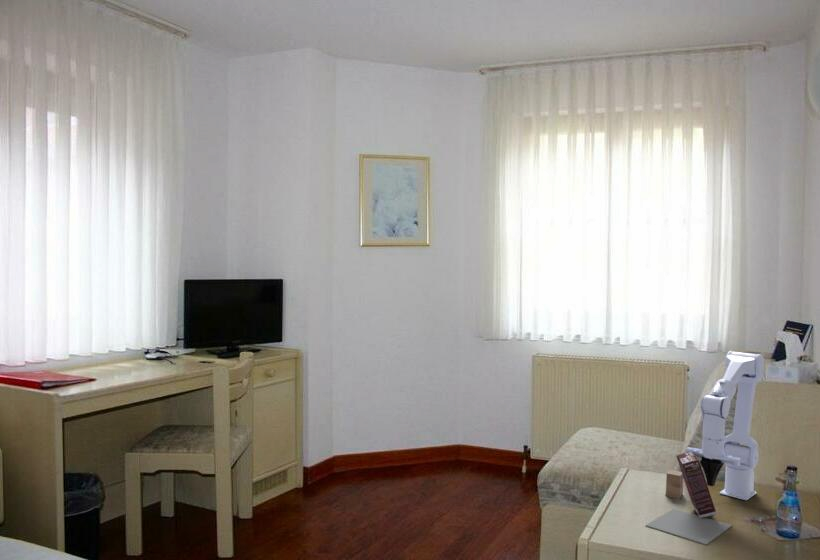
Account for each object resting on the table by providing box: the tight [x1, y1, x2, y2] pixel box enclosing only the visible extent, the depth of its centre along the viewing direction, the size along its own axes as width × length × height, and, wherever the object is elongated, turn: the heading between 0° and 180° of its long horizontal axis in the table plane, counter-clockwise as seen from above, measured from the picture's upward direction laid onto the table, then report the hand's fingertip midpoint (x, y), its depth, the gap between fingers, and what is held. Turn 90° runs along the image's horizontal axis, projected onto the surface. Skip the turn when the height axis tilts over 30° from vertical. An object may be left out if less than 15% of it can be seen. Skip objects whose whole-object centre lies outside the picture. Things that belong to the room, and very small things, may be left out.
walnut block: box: [665, 469, 684, 500], centre depth 208 cm, size 4×4×7 cm
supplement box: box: [676, 452, 717, 518], centre depth 193 cm, size 9×5×16 cm, turn 171°
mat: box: [645, 508, 733, 546], centre depth 184 cm, size 18×16×1 cm
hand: (711, 485), depth 194 cm, fingers closed
